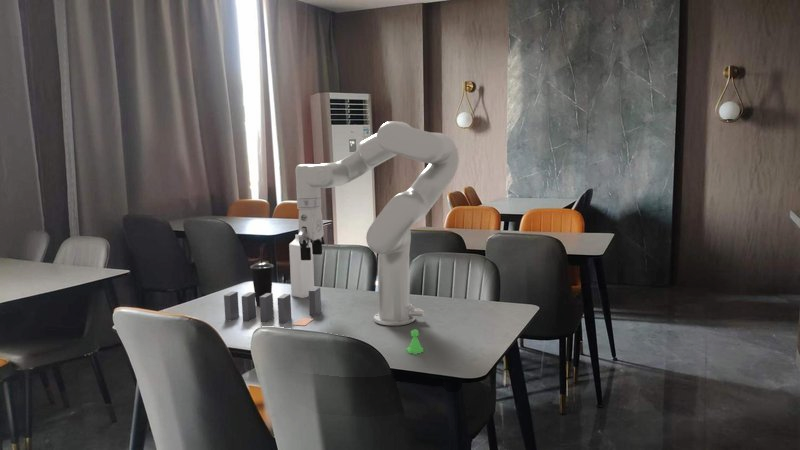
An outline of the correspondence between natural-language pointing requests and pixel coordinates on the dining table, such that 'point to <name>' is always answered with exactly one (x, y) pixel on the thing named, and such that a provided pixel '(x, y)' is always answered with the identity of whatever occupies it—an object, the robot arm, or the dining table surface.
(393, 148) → the robot arm
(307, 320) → the head marker
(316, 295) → the domino
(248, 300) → the domino
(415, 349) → the game piece
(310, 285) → the milk
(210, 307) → the dining table surface
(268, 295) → the domino
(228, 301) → the domino
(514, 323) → the dining table surface
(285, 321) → the domino
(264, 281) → the drinking cup
